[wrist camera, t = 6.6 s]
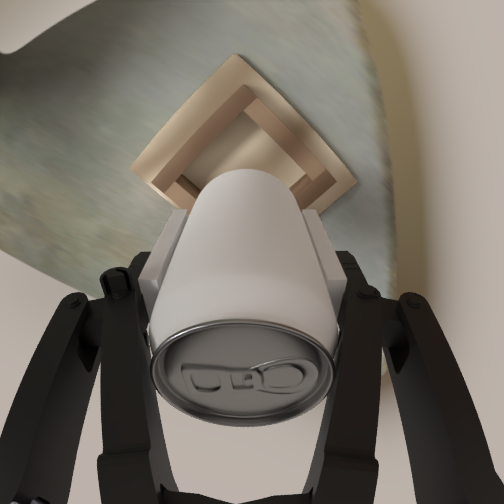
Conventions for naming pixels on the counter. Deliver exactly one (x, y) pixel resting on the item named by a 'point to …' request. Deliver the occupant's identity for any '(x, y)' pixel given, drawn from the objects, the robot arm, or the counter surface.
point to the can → (244, 309)
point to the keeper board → (240, 143)
